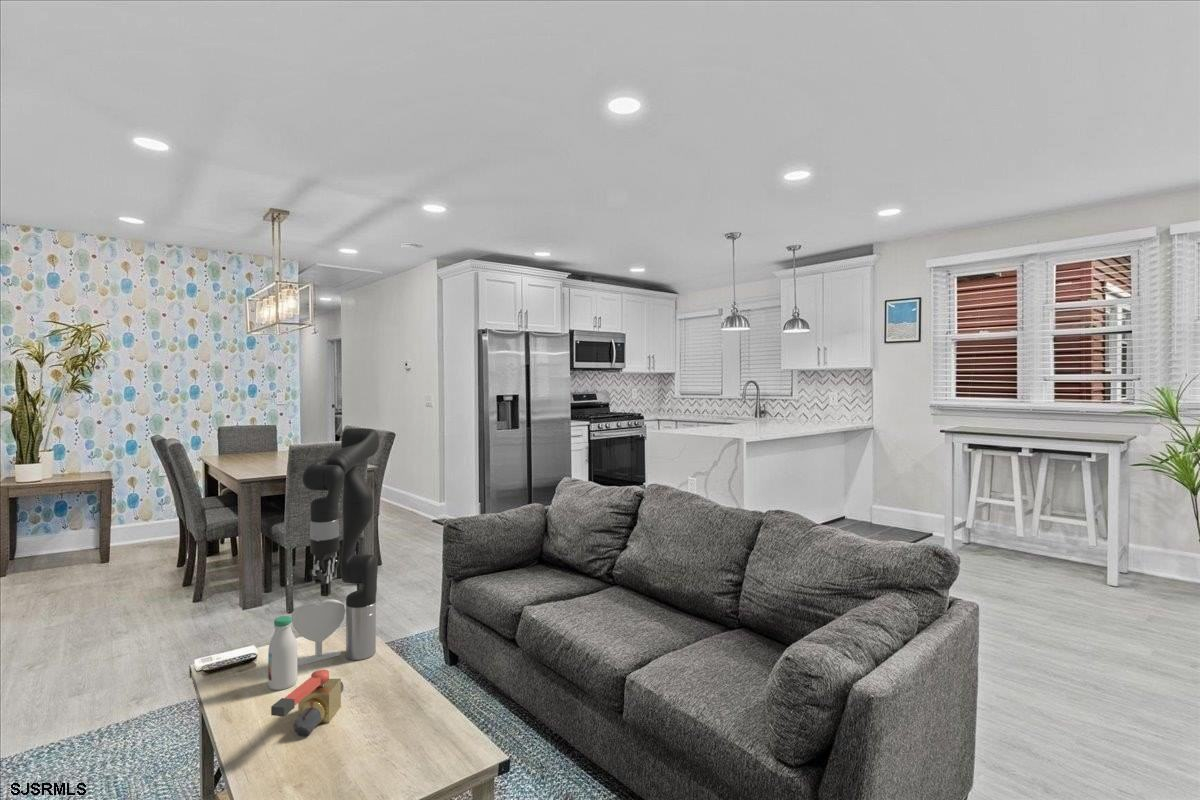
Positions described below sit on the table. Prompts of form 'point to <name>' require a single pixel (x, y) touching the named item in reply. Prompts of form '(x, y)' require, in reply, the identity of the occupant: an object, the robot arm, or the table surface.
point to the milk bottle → (282, 655)
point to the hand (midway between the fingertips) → (325, 595)
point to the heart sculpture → (318, 626)
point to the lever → (299, 693)
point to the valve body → (318, 706)
